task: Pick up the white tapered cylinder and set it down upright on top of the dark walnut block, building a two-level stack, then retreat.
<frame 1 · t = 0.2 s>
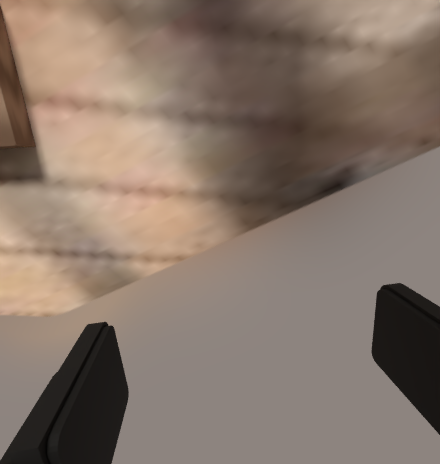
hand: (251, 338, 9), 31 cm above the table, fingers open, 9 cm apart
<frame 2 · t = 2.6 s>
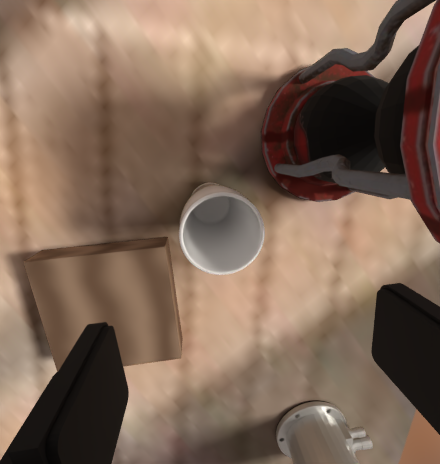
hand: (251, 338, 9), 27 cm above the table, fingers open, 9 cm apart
hourglass: (322, 136, 34), on the table
white tapered cylinder: (210, 202, 35), on the table
walnut block: (117, 297, 37), on the table
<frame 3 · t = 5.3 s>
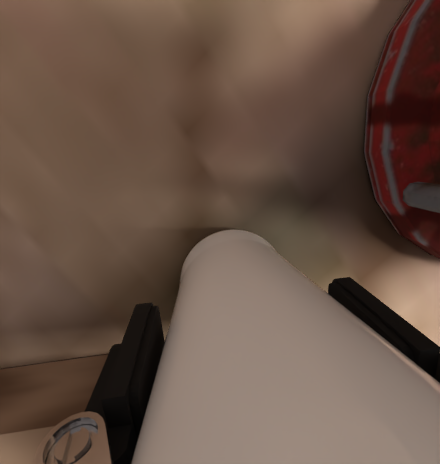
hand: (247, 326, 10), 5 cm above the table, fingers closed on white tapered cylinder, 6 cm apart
white tapered cylinder: (230, 272, 15), on the table, touching gripper
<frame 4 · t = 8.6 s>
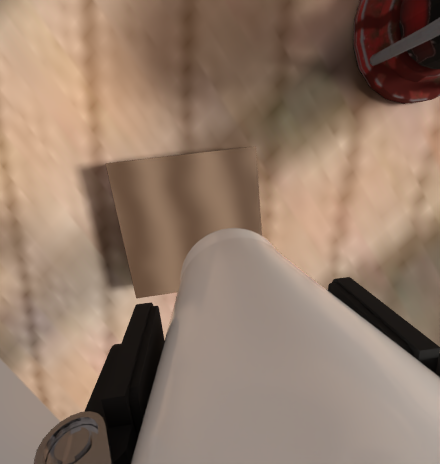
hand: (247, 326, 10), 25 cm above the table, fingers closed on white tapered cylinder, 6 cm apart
hourglass: (416, 28, 31), on the table
white tapered cylinder: (230, 270, 15), point 20 cm above the table, touching gripper
walnut block: (192, 218, 34), on the table
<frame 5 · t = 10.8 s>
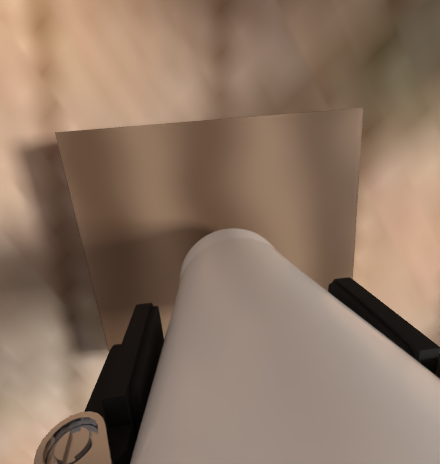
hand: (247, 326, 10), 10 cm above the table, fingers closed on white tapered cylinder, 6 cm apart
white tapered cylinder: (229, 271, 15), point 5 cm above the table, touching gripper
walnut block: (220, 241, 20), on the table
when the fingers open (8 cm above the table, at t = 12.0 s): white tapered cylinder stays where it is, resting on walnut block.
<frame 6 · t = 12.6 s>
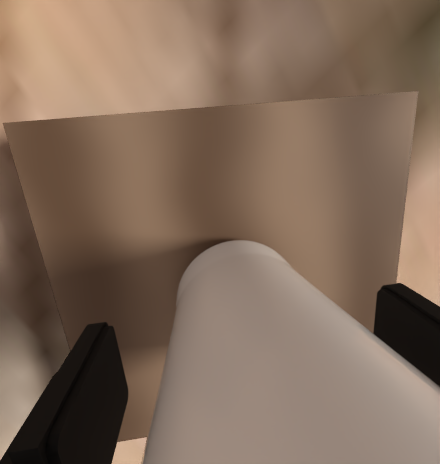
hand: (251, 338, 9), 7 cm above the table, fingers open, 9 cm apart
white tapered cylinder: (234, 288, 13), point 4 cm above the table, touching walnut block
walnut block: (225, 259, 16), on the table
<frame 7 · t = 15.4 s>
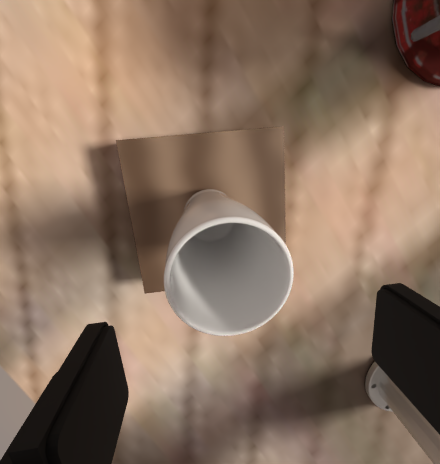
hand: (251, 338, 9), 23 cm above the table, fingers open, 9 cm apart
white tapered cylinder: (209, 213, 28), point 4 cm above the table, touching walnut block
walnut block: (207, 207, 31), on the table
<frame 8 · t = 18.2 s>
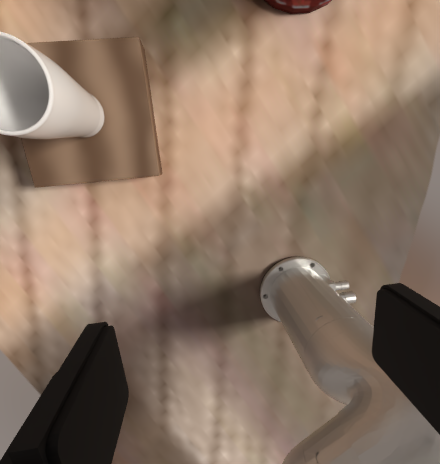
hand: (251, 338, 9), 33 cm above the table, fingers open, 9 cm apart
white tapered cylinder: (83, 115, 33), point 4 cm above the table, touching walnut block
walnut block: (95, 120, 37), on the table
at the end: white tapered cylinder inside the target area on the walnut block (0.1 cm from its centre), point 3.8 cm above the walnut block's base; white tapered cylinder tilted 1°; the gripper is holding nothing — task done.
